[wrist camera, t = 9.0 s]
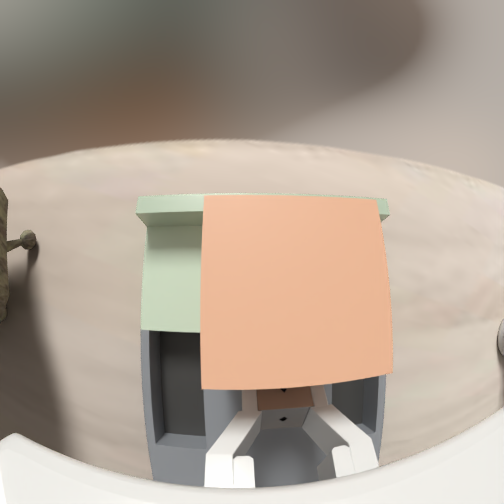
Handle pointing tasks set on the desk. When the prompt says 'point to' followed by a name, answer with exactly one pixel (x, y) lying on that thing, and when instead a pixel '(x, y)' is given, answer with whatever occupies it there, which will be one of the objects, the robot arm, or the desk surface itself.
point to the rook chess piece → (501, 338)
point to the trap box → (189, 363)
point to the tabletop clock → (3, 246)
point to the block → (292, 292)
